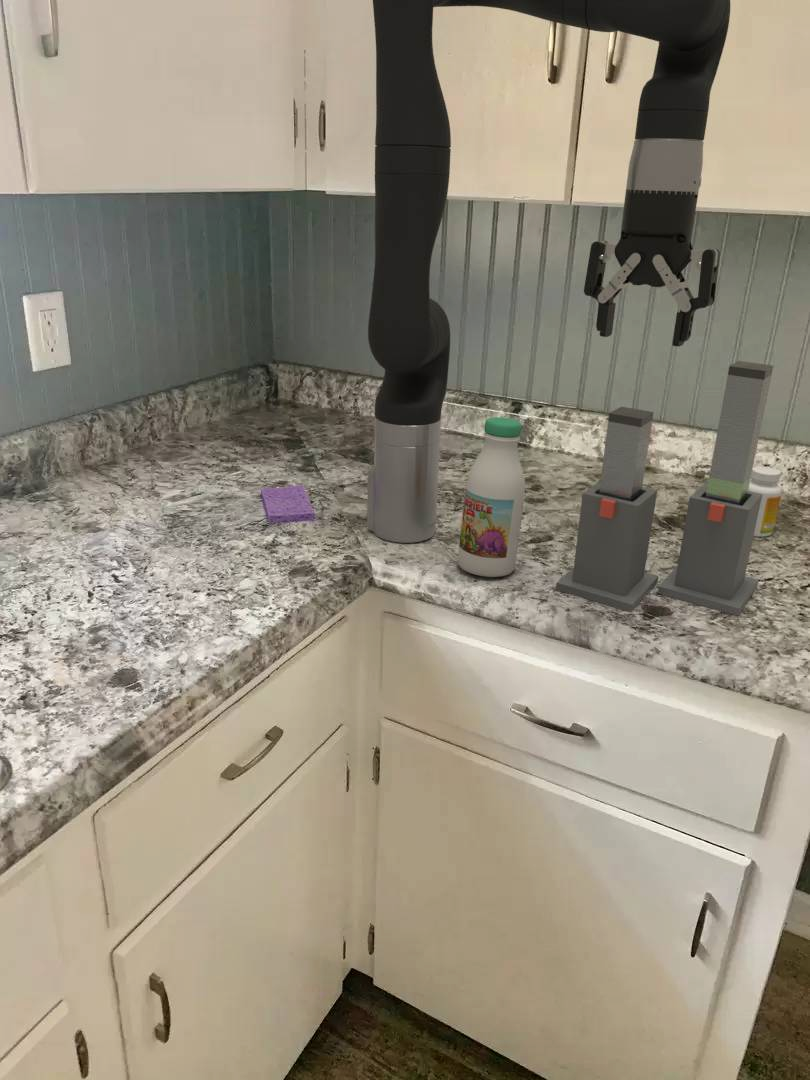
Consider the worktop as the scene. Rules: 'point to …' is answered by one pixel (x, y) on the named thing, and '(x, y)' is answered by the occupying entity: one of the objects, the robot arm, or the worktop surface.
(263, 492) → the sponges
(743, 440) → the column
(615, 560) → the stand
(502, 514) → the milk bottle
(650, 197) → the robot arm
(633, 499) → the column
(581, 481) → the worktop surface
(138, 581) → the worktop surface
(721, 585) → the stand
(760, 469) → the supplement bottle
